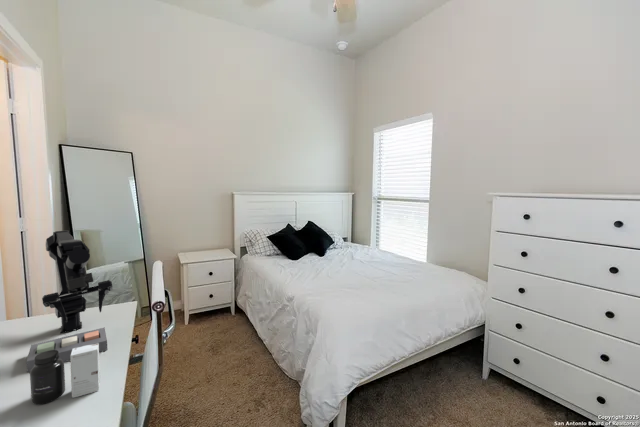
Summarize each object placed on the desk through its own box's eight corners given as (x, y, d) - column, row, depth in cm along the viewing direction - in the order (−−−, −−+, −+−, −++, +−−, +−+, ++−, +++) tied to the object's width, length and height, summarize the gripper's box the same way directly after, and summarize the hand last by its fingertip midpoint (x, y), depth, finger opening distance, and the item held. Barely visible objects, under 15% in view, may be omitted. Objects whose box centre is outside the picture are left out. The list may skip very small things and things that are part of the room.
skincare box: (71, 399, 79) (68, 356, 78) (73, 389, 83) (71, 348, 82) (100, 390, 83) (97, 349, 82) (101, 381, 86) (98, 342, 85)
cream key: (62, 346, 101) (62, 339, 101) (77, 342, 104) (77, 335, 104) (62, 351, 98) (61, 344, 98) (77, 347, 101) (77, 340, 100)
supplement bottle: (36, 409, 75) (33, 365, 74) (28, 399, 79) (24, 356, 78) (70, 393, 81) (67, 352, 80) (60, 384, 85) (57, 345, 84)
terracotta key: (84, 340, 105) (84, 333, 105) (98, 337, 108) (98, 330, 107) (85, 345, 102) (84, 338, 102) (99, 341, 104) (99, 334, 104)
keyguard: (32, 354, 99) (31, 344, 99) (105, 336, 112) (104, 327, 112) (27, 372, 90) (26, 361, 90) (107, 349, 103) (106, 340, 102)
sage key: (38, 352, 97) (37, 345, 97) (54, 348, 100) (54, 341, 100) (37, 357, 94) (36, 350, 94) (53, 353, 97) (53, 346, 97)
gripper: (36, 274, 93) (43, 323, 89) (107, 260, 105) (116, 302, 101) (42, 284, 102) (48, 328, 98) (108, 269, 113) (116, 309, 109)
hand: (83, 316), depth 101 cm, fingers open, 9 cm apart
